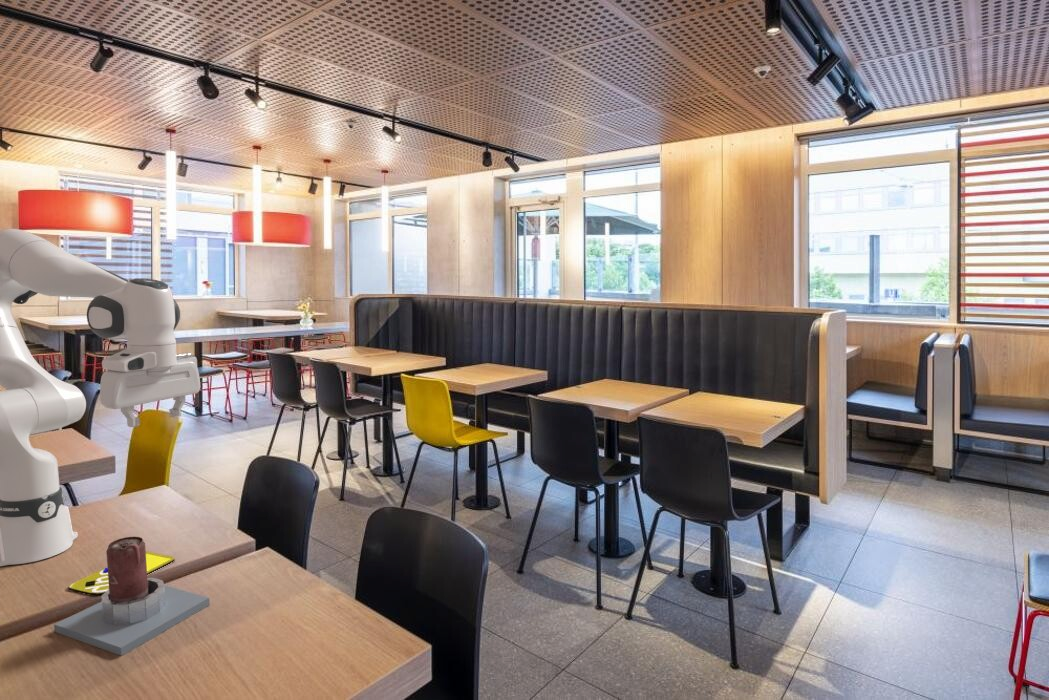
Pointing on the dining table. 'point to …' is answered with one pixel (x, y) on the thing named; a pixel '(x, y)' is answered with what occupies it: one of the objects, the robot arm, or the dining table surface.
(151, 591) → the ring holder
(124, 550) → the can
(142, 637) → the base board
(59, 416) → the robot arm
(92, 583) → the game console
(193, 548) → the dining table surface
